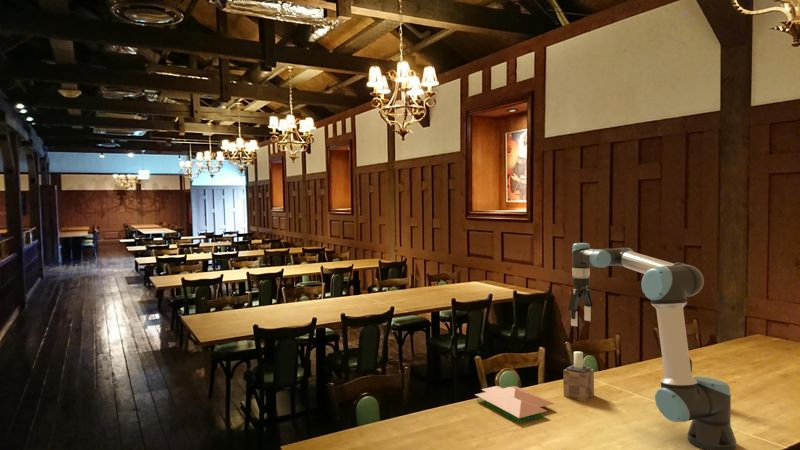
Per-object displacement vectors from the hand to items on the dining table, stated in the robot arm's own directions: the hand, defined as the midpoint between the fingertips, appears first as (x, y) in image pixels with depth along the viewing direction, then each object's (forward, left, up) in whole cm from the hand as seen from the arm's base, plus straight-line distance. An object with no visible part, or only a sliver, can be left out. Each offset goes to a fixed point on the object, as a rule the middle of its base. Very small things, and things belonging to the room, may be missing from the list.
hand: (580, 323), depth 232 cm
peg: (-1, +1, -26) cm, 26 cm away
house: (-30, +17, -34) cm, 49 cm away
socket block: (-1, +1, -34) cm, 34 cm away
